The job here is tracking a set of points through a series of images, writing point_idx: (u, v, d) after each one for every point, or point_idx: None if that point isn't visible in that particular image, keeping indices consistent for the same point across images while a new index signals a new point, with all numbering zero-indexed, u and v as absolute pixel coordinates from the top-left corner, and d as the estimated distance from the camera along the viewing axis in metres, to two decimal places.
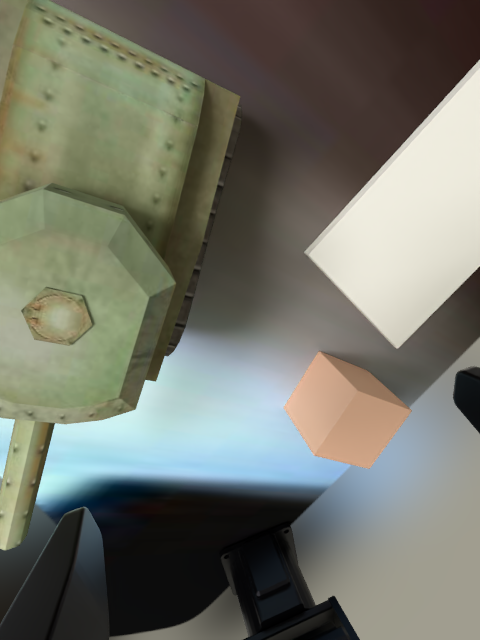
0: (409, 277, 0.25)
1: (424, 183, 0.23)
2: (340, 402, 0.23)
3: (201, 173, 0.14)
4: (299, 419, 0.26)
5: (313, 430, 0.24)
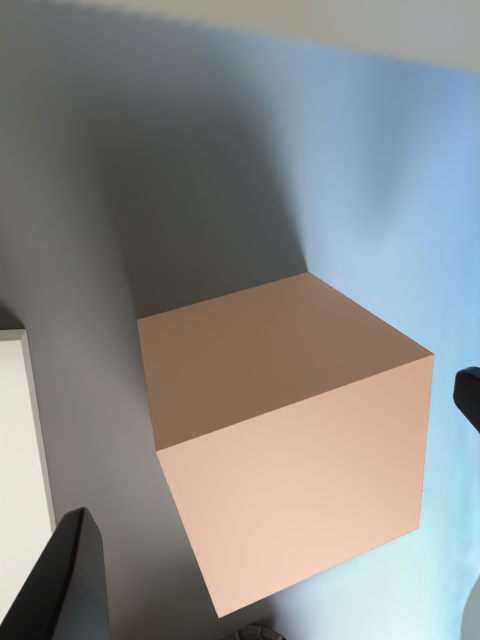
0: None
1: None
2: None
3: None
4: None
5: None
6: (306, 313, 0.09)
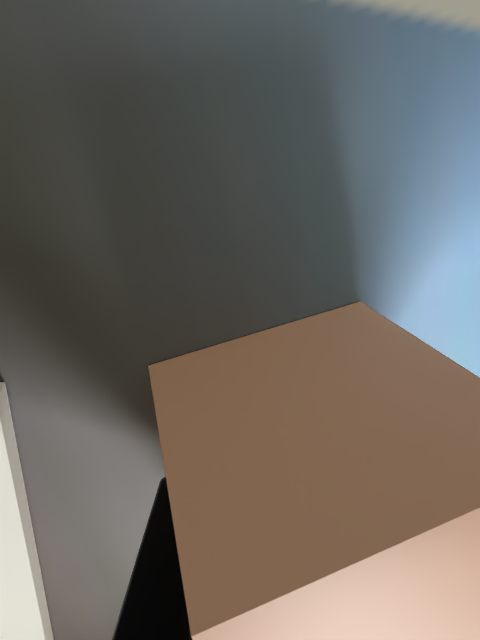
0: None
1: None
2: None
3: None
4: None
5: None
6: (376, 368, 0.07)
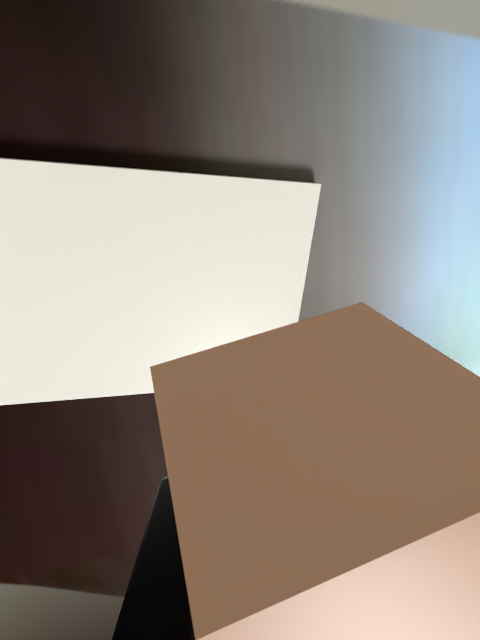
0: (235, 265, 0.18)
1: (149, 349, 0.19)
2: None
3: None
4: None
5: None
6: (379, 369, 0.07)
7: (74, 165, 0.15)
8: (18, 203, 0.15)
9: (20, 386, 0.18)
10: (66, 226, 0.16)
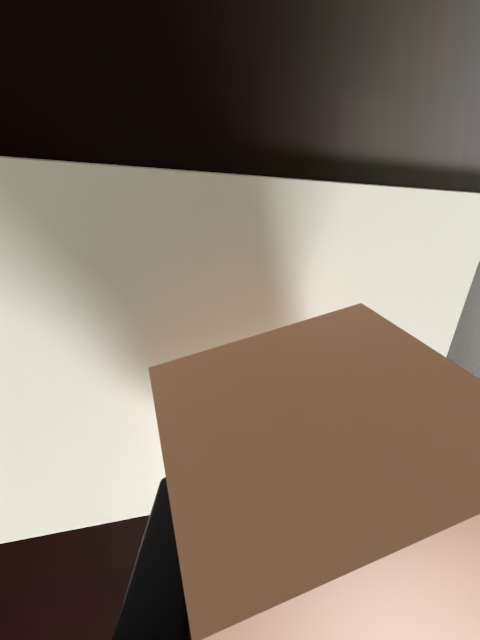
0: None
1: None
2: None
3: None
4: None
5: None
6: (378, 370, 0.07)
7: (149, 170, 0.09)
8: (53, 236, 0.09)
9: (47, 511, 0.12)
10: (130, 271, 0.09)
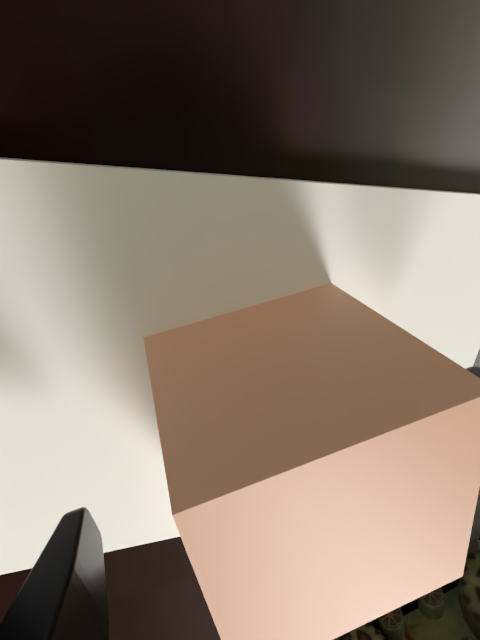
0: None
1: None
2: None
3: None
4: None
5: None
6: (336, 334, 0.08)
7: (157, 172, 0.08)
8: (49, 246, 0.08)
9: (44, 541, 0.11)
10: (135, 284, 0.08)
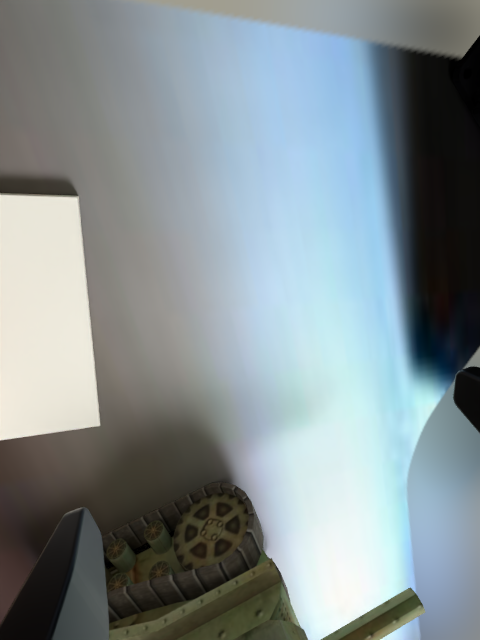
0: None
1: None
2: None
3: None
4: None
5: None
6: None
7: None
8: None
9: None
10: None
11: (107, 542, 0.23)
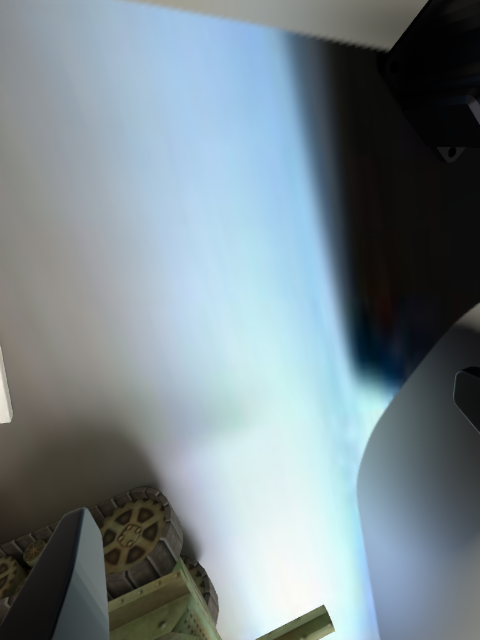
0: None
1: None
2: None
3: None
4: None
5: None
6: None
7: None
8: None
9: None
10: None
11: (26, 543, 0.23)
